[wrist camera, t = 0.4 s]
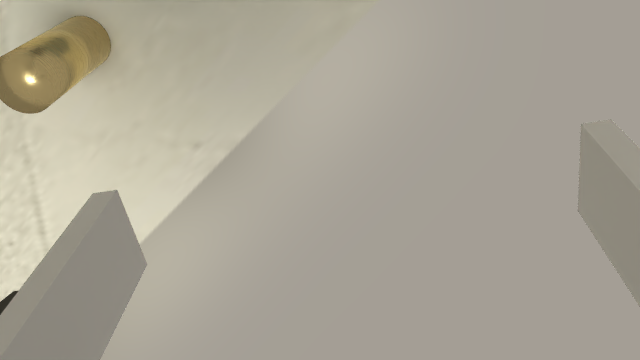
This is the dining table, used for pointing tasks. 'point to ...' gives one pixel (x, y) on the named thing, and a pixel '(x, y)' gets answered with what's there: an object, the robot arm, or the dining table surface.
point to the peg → (52, 64)
